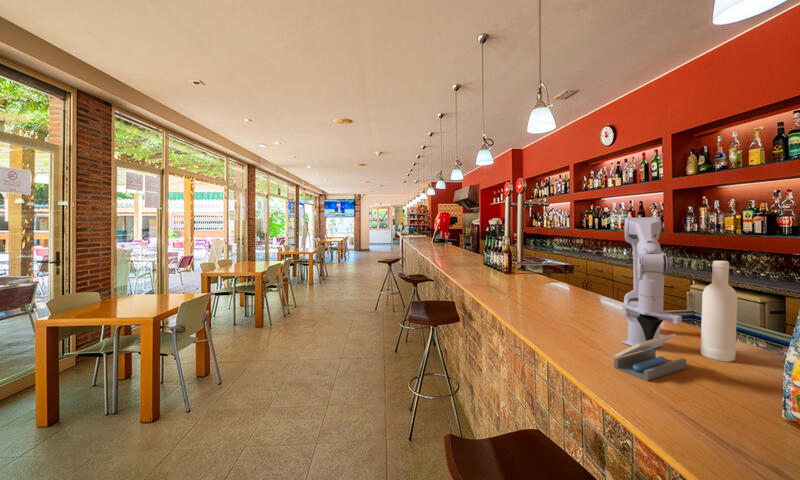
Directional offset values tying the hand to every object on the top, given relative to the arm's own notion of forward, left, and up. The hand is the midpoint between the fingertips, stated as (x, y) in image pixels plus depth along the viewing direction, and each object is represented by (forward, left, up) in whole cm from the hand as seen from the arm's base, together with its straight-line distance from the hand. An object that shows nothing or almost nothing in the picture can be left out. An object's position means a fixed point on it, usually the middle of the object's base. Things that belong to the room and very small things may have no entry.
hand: (649, 341), depth 96 cm
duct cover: (0, -1, -2) cm, 2 cm away
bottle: (-27, +4, -8) cm, 28 cm away
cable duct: (0, 0, -8) cm, 8 cm away
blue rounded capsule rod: (0, 0, -8) cm, 8 cm away
